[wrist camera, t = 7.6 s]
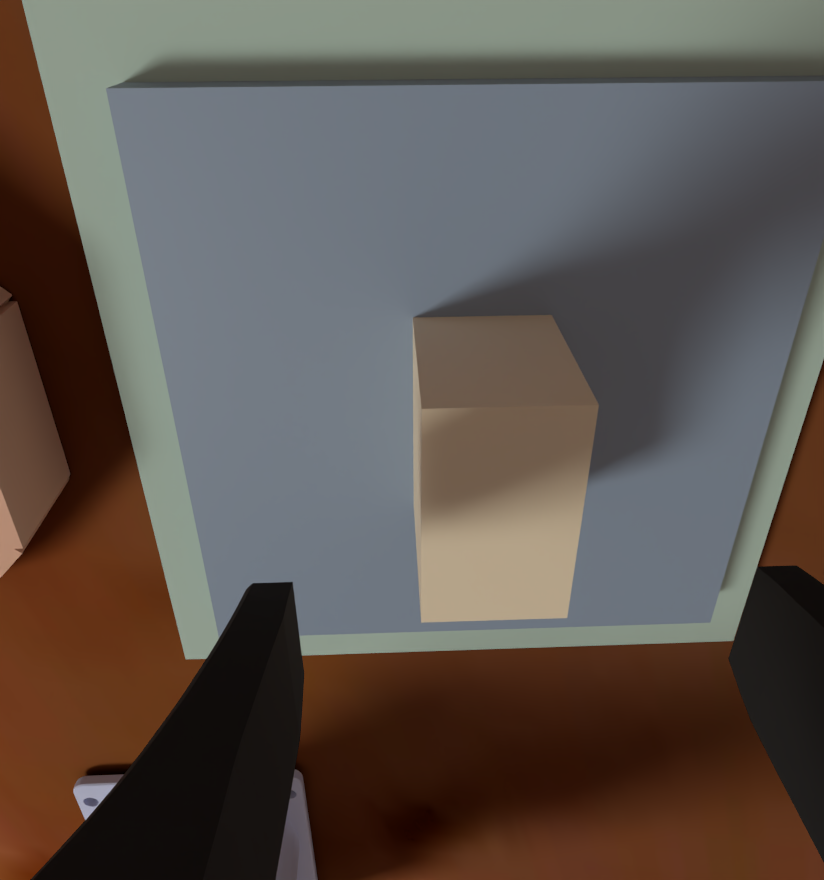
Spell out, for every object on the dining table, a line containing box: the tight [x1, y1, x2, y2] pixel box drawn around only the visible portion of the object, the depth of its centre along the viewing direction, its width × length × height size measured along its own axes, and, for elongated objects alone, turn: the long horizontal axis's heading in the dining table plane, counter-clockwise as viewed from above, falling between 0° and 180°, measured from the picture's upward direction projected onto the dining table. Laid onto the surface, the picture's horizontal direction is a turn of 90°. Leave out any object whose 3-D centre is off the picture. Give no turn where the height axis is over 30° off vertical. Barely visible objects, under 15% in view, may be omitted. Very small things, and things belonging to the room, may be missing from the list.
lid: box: [106, 76, 824, 638], centre depth 16 cm, size 14×14×5 cm
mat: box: [22, 0, 824, 659], centre depth 18 cm, size 18×17×1 cm
